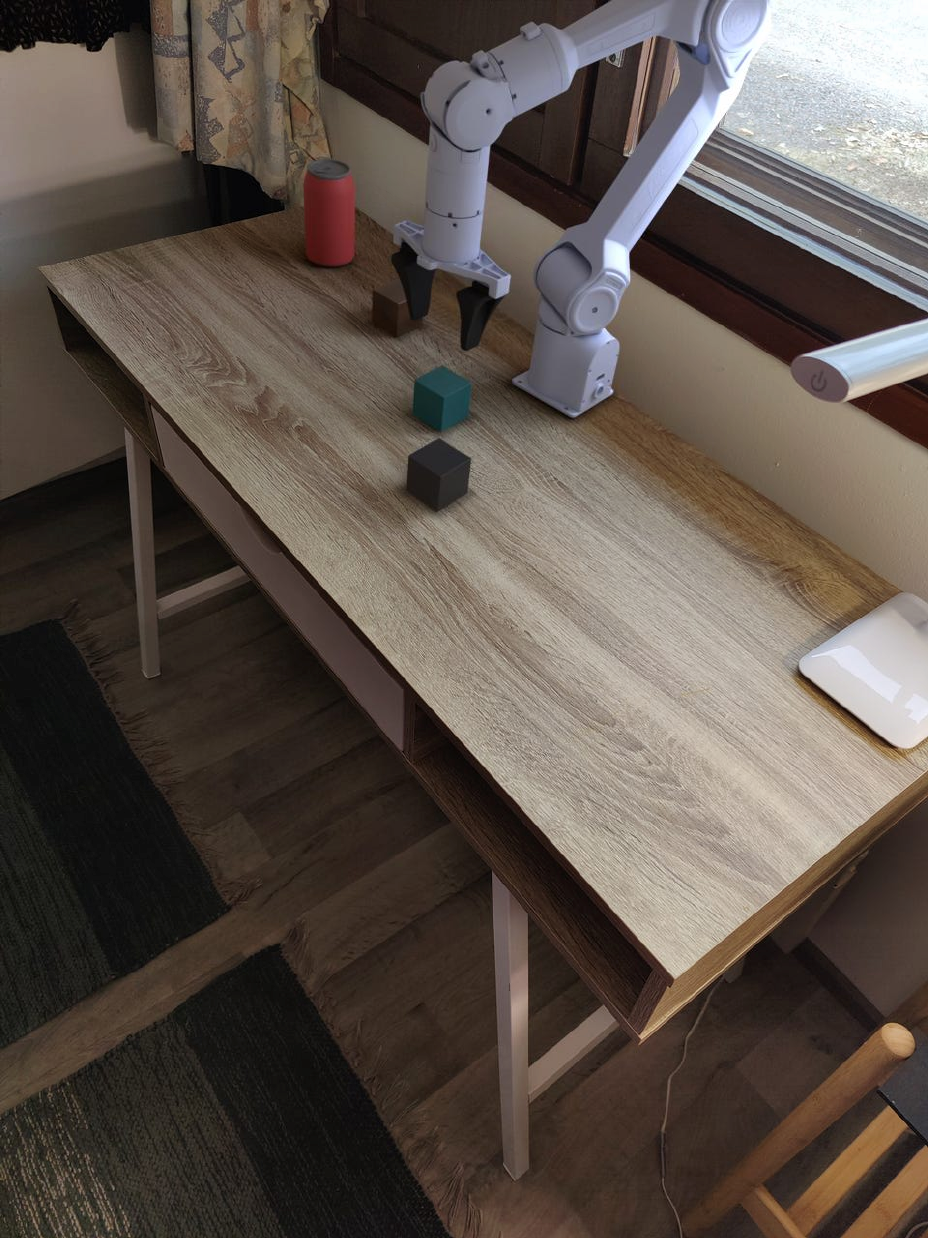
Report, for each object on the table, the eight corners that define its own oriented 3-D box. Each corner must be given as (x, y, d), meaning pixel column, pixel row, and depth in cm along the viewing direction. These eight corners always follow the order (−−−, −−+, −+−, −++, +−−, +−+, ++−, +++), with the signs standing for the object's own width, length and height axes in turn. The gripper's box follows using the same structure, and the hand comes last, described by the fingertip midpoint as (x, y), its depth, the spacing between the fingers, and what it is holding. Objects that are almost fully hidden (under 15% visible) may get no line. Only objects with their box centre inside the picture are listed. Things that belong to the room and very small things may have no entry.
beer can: (296, 252, 130) (293, 161, 121) (338, 242, 133) (337, 153, 124) (321, 273, 127) (319, 181, 118) (363, 262, 130) (364, 172, 121)
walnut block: (422, 325, 120) (424, 292, 117) (396, 337, 118) (398, 303, 114) (397, 311, 122) (398, 277, 119) (371, 322, 120) (372, 289, 116)
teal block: (468, 416, 108) (472, 382, 104) (440, 432, 105) (444, 397, 102) (439, 399, 109) (442, 364, 106) (411, 414, 107) (413, 379, 104)
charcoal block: (467, 493, 98) (471, 458, 95) (437, 512, 96) (440, 476, 93) (436, 472, 100) (439, 437, 97) (405, 490, 98) (407, 455, 95)
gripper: (372, 188, 93) (370, 315, 103) (481, 245, 87) (467, 374, 97) (424, 171, 97) (416, 295, 107) (531, 224, 91) (513, 351, 101)
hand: (443, 331), depth 102 cm, fingers open, 7 cm apart
